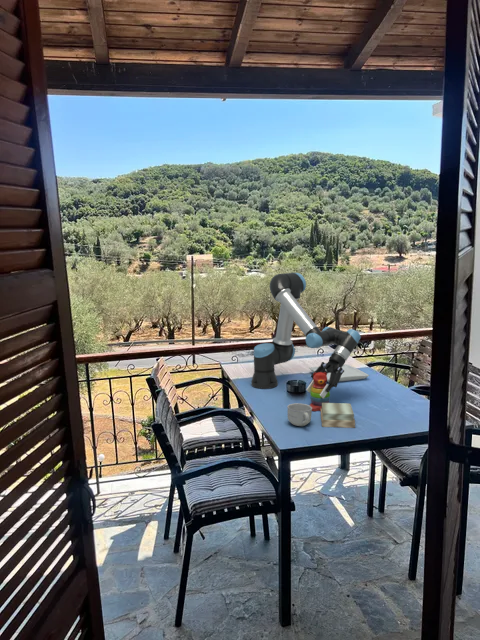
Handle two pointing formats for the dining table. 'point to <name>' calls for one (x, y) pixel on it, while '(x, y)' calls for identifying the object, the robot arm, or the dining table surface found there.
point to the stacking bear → (318, 391)
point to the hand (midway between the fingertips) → (314, 394)
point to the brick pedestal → (337, 415)
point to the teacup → (299, 414)
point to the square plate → (347, 373)
